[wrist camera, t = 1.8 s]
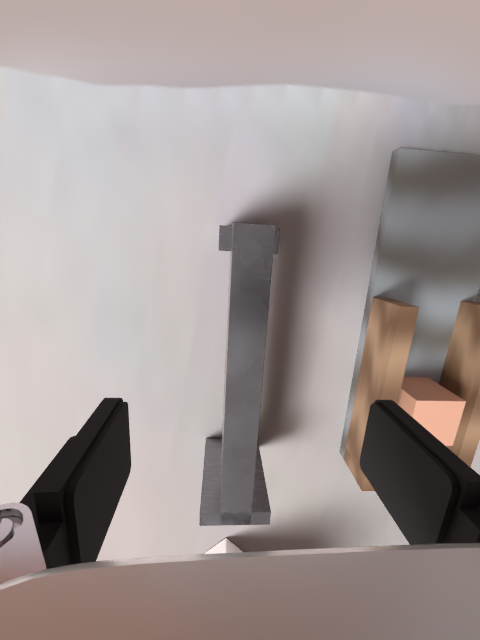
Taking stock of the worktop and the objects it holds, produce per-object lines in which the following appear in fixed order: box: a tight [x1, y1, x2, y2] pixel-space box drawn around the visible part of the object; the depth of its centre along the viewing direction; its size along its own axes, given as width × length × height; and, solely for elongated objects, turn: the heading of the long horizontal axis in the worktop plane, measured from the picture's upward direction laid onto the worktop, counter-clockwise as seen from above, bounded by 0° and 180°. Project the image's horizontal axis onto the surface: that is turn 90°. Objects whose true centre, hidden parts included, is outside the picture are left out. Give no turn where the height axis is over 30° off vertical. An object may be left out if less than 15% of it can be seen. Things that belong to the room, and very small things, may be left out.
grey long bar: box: [200, 222, 279, 526], centre depth 22 cm, size 22×5×8 cm, turn 177°
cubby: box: [340, 148, 480, 491], centre depth 24 cm, size 30×10×5 cm, turn 177°
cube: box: [397, 377, 466, 446], centre depth 26 cm, size 4×4×4 cm
